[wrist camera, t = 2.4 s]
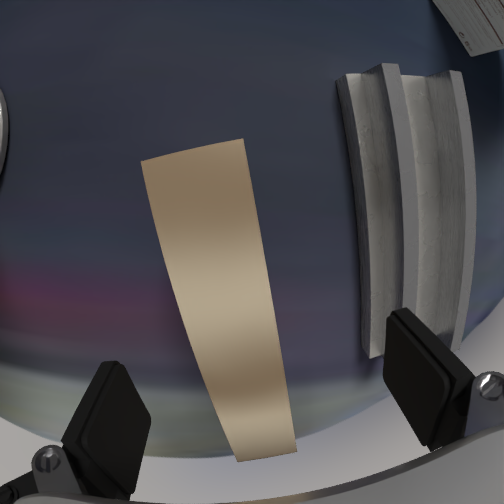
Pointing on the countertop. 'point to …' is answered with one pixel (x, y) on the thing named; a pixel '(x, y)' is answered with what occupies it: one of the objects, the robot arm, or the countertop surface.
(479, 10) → the supplement box
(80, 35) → the countertop surface
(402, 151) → the door track
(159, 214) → the door panel
